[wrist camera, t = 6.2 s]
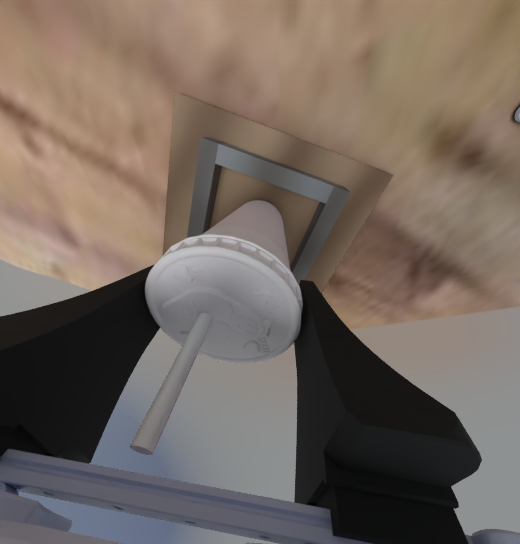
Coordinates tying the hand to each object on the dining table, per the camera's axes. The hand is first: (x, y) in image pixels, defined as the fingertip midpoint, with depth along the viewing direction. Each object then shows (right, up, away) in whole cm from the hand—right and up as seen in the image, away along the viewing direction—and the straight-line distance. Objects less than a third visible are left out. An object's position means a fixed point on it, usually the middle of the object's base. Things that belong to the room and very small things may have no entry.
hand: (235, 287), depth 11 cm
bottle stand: (+1, +5, +8) cm, 10 cm away
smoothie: (+1, +5, +6) cm, 7 cm away
